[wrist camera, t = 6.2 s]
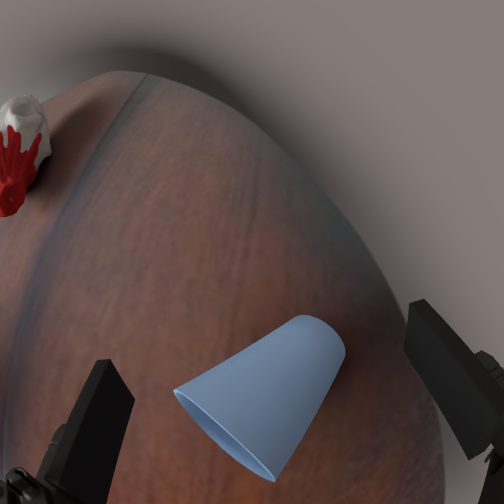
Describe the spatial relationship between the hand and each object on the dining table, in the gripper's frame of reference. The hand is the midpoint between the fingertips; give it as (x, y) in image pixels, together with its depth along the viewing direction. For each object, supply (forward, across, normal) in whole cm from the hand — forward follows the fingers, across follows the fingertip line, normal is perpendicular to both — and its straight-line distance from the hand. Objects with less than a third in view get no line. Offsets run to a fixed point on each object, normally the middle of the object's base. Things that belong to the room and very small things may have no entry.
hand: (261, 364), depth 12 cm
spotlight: (+4, 0, -5) cm, 6 cm away
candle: (+20, -24, +12) cm, 33 cm away
